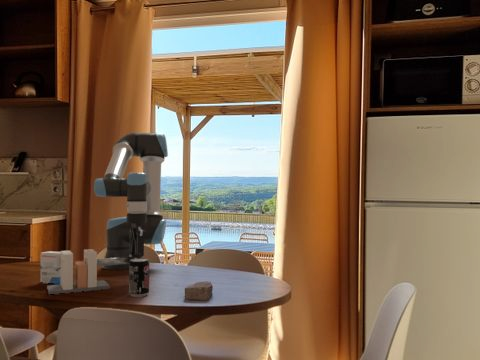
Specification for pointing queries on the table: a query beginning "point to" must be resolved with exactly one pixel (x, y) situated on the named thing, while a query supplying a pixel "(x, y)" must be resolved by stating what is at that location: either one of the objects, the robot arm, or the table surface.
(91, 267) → the jig
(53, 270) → the ink box
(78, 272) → the spacer
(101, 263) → the shaft
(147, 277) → the beverage can
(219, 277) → the table surface
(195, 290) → the stone
